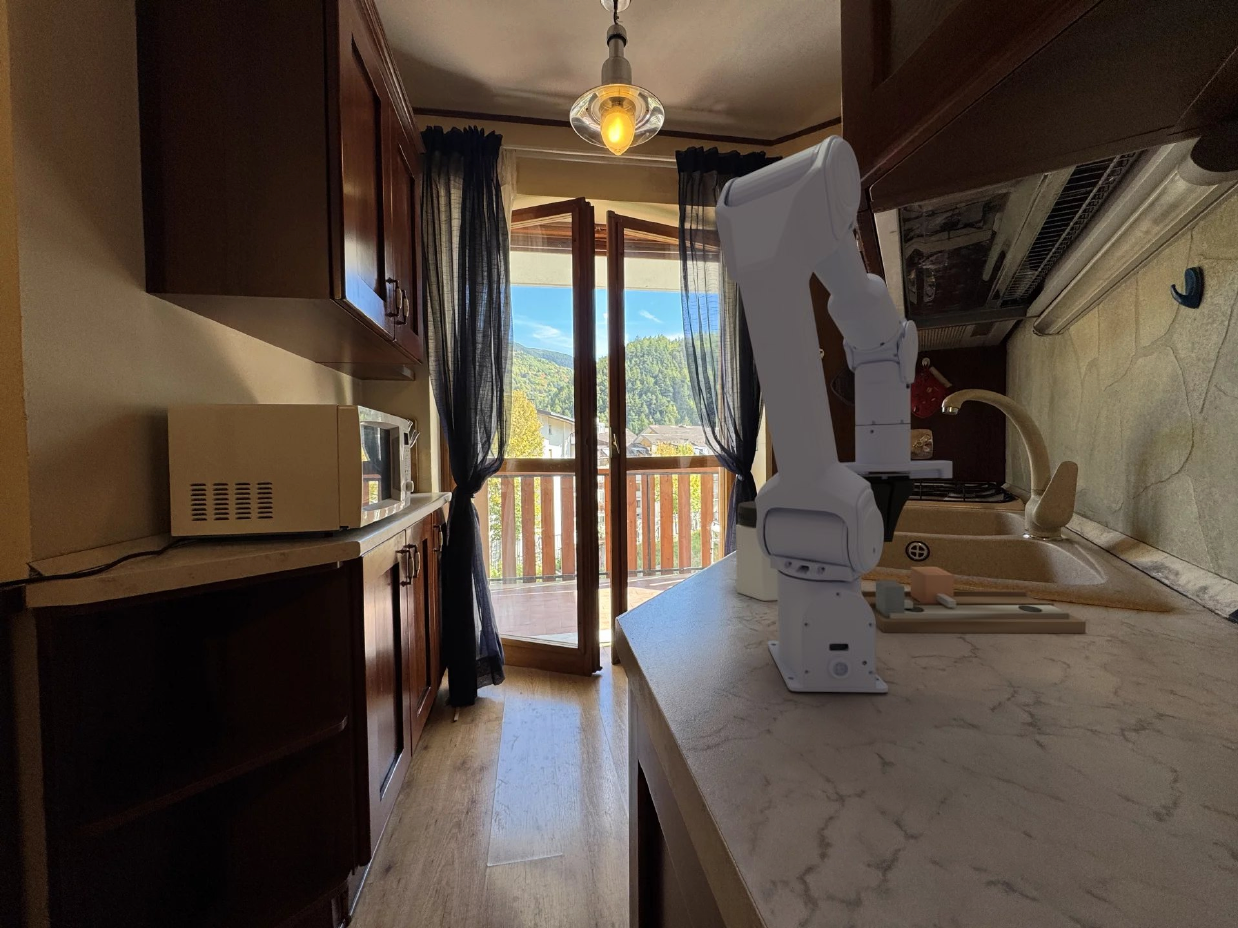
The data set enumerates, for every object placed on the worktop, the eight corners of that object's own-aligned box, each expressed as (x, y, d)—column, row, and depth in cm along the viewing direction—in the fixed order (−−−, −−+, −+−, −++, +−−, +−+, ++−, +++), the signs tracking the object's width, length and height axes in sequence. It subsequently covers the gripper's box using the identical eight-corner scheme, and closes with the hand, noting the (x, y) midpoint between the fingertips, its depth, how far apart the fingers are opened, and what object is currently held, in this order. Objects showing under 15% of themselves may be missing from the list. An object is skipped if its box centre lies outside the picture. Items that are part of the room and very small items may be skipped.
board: (1085, 633, 52) (1085, 615, 52) (883, 632, 54) (883, 615, 54) (1026, 605, 61) (1026, 589, 61) (853, 605, 63) (853, 590, 62)
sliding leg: (966, 612, 55) (966, 581, 55) (937, 612, 55) (937, 581, 55) (936, 595, 61) (936, 566, 61) (910, 595, 61) (910, 566, 61)
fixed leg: (916, 618, 54) (916, 586, 54) (885, 618, 55) (885, 586, 55) (905, 610, 57) (906, 580, 57) (875, 610, 57) (875, 580, 57)
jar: (747, 579, 75) (745, 499, 74) (805, 585, 71) (804, 501, 70) (731, 597, 67) (729, 507, 66) (795, 605, 63) (794, 510, 62)
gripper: (929, 423, 62) (929, 532, 63) (808, 427, 63) (809, 534, 64) (963, 422, 55) (962, 545, 56) (826, 426, 56) (827, 546, 57)
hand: (882, 540), depth 60 cm, fingers closed
